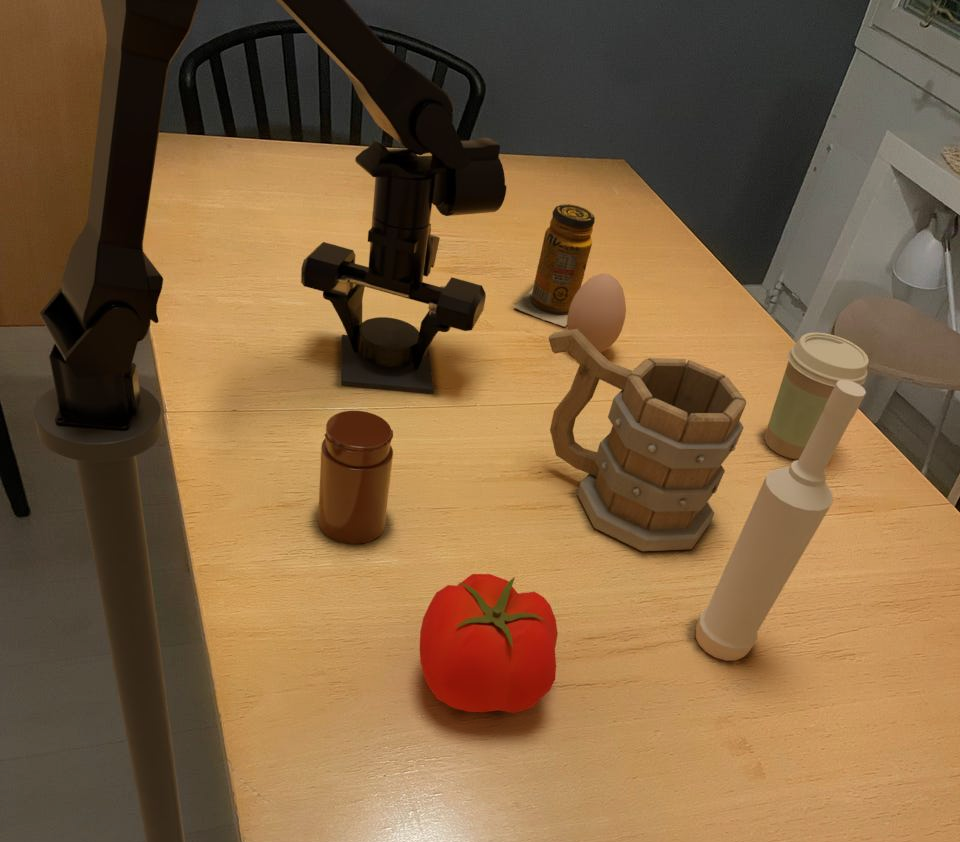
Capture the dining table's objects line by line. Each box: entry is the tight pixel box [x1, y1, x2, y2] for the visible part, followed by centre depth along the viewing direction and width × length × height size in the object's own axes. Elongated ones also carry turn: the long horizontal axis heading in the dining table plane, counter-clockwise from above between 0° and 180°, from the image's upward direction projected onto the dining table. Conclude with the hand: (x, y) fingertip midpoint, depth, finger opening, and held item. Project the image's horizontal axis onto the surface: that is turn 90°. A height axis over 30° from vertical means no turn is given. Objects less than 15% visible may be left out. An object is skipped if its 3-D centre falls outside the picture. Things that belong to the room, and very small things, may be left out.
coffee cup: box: [764, 332, 869, 460], centre depth 100 cm, size 8×8×12 cm
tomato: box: [419, 573, 559, 714], centre depth 68 cm, size 11×11×9 cm
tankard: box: [548, 329, 747, 552], centre depth 86 cm, size 20×13×15 cm, turn 59°
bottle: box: [695, 380, 867, 662], centre depth 70 cm, size 5×5×25 cm
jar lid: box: [357, 316, 420, 367], centre depth 100 cm, size 7×7×2 cm
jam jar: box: [317, 410, 394, 545], centre depth 78 cm, size 6×6×10 cm
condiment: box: [512, 203, 596, 328], centre depth 115 cm, size 7×8×12 cm
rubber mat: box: [340, 334, 435, 395], centre depth 101 cm, size 10×10×1 cm
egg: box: [566, 273, 627, 353], centre depth 108 cm, size 7×7×10 cm
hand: (387, 359), depth 101 cm, fingers closed on jar lid, 7 cm apart
